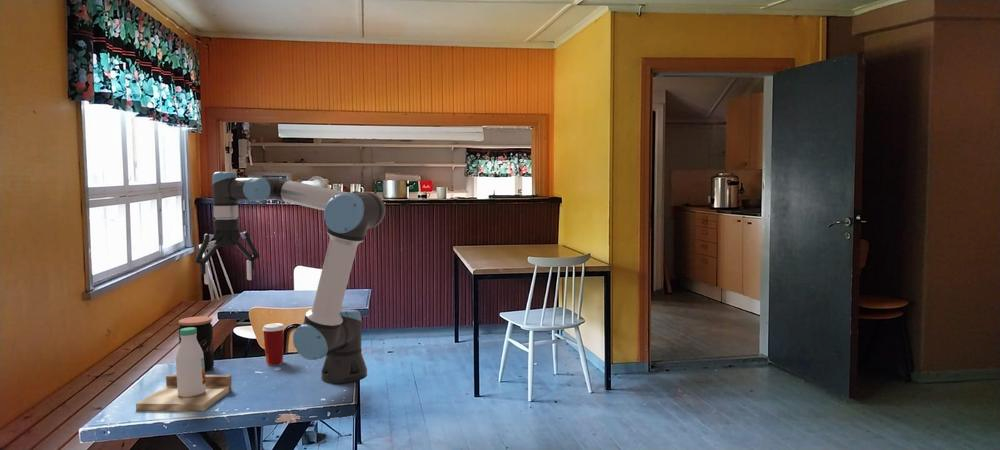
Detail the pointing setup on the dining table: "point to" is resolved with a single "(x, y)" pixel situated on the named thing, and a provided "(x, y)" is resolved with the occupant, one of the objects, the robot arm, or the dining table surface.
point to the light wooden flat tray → (173, 402)
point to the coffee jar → (201, 336)
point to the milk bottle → (190, 365)
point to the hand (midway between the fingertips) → (228, 281)
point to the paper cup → (274, 343)
